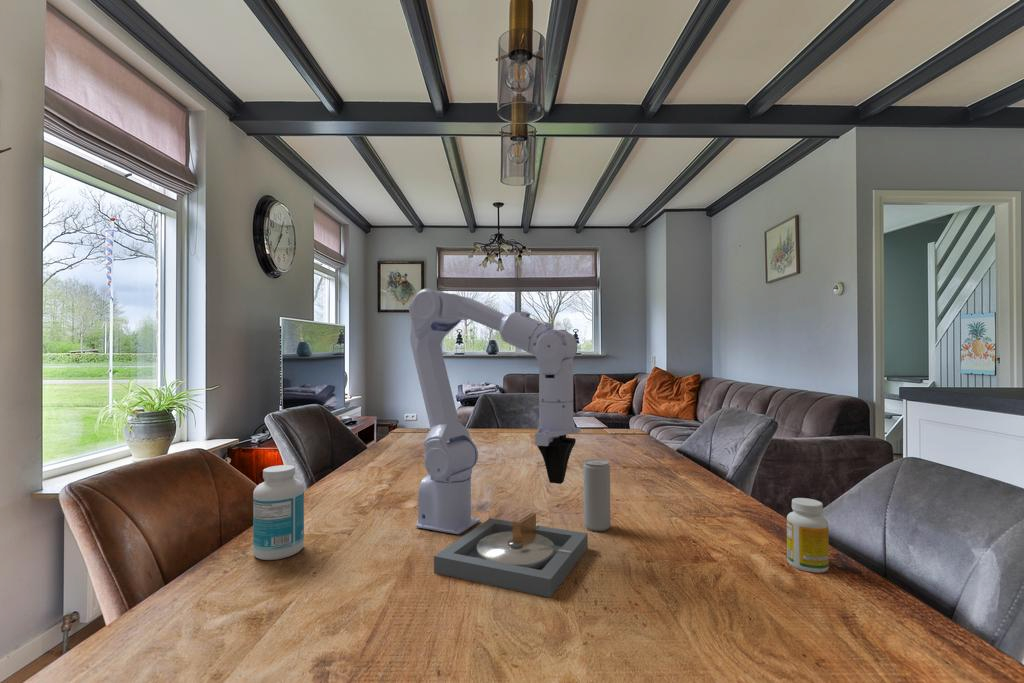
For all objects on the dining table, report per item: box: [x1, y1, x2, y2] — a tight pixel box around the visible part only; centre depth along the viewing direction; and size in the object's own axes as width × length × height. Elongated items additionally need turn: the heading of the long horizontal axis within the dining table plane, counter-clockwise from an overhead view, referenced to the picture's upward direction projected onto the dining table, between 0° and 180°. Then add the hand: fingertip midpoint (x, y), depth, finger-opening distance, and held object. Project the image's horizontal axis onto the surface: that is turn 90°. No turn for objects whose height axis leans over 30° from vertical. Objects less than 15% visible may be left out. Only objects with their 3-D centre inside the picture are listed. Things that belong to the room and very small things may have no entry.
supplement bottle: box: [786, 497, 830, 574], centre depth 73 cm, size 5×5×10 cm
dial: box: [477, 511, 554, 569], centre depth 75 cm, size 12×12×5 cm
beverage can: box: [582, 458, 611, 532], centre depth 89 cm, size 5×5×12 cm
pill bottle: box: [252, 464, 305, 561], centre depth 78 cm, size 8×7×14 cm
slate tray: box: [433, 517, 589, 599], centre depth 75 cm, size 18×18×3 cm
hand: (556, 482), depth 81 cm, fingers closed
